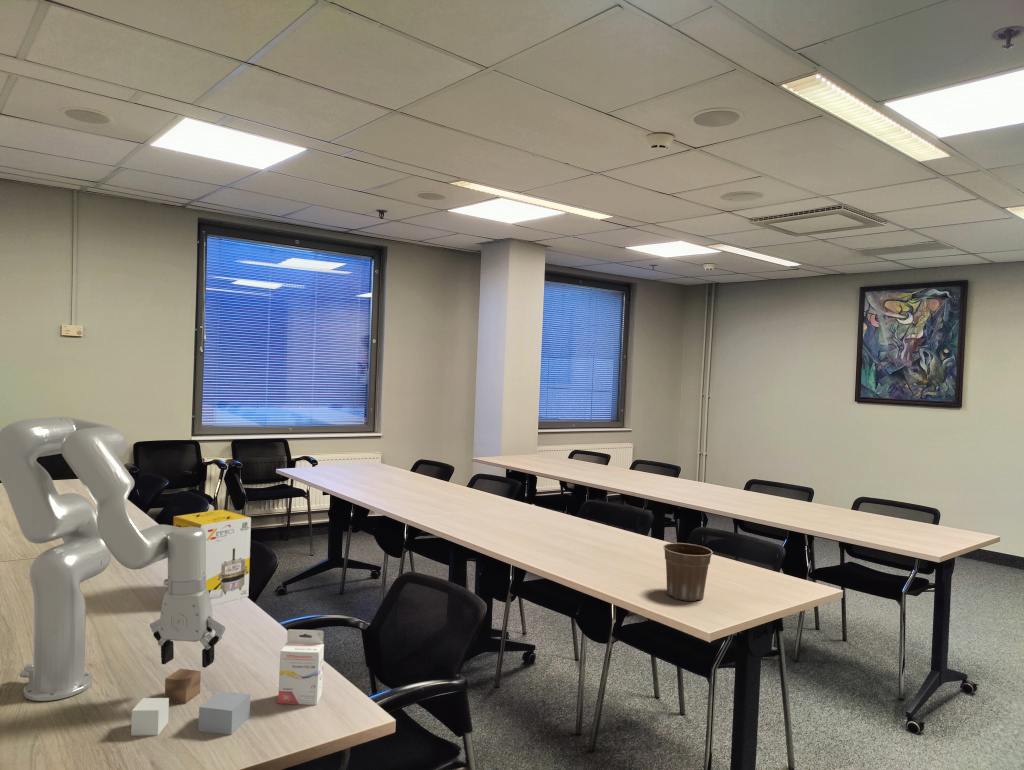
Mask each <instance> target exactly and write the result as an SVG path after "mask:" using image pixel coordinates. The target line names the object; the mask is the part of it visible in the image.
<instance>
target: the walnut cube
mask: <svg viewBox="0 0 1024 770" xmlns="http://www.w3.org/2000/svg"><path fill="white" fill-rule="evenodd" d="M201 672H202V671H201V670H194V669H187V668H179V669H177V670H176V671H174V672H173V673H171V674H170V675H168V676H167V677H166V678H165V680H164V698H169V703H176V702H177V704H184V705H186V704H188V703H189V702H190V701H191V700H193V699H194V698H196V697H197V696H198V695H199V694H201V678H202V677H201V675H202V673H201ZM187 702H188V703H187Z"/></svg>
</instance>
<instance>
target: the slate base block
mask: <svg viewBox="0 0 1024 770" xmlns="http://www.w3.org/2000/svg"><path fill="white" fill-rule="evenodd" d="M250 711H251V693H245V692H244V693H243V692H242V693H241V692H234V691H224V690H218V691H217V692H215V694H213V695H212V696H210V698H208V699H207V700H206V701H205V702H203V703H202V704H201V705H200V706H198V732H203V733H210V734H211V733H213V734H220V735H228V736H229V735H230V736H231V735H233V734H234V733H235V732H236V731H237V730H238V729H239V728H240V727H241V726H242V725H243V724H244V723H245V722H246V721H248V719H250V715H251V713H250Z"/></svg>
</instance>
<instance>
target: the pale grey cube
mask: <svg viewBox="0 0 1024 770" xmlns="http://www.w3.org/2000/svg"><path fill="white" fill-rule="evenodd" d="M169 703H170V702H169V698H165V697H143V698H142V699H141V700H140V701H139V702H138V703H137V704H136V705H135V707H133V709H132V710H131V724H130V725H131V726H130V727H131V728H130V729H131V730H130V735H131V736H159V734H160V733H161V732H162V730H163V729H164V728H165V727H166V725H167V724H168V723H169V713H170V712H169V705H170V704H169Z"/></svg>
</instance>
